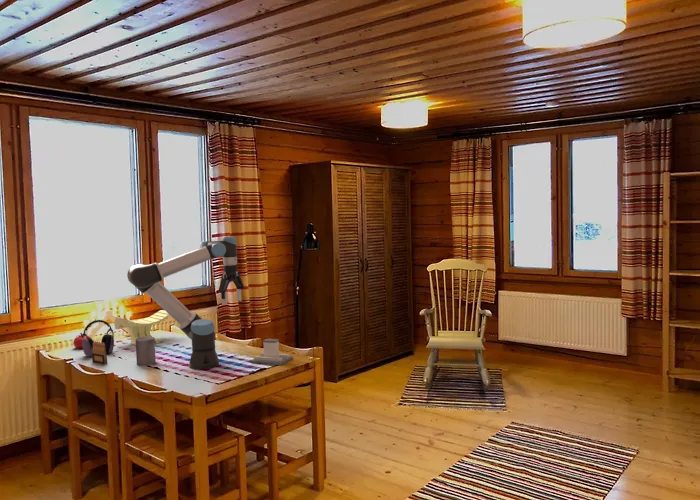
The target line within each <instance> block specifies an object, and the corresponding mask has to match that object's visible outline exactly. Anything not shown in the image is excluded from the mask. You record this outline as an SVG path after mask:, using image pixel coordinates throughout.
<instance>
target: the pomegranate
mask: <svg viewBox="0 0 700 500" xmlns="http://www.w3.org/2000/svg"><path fill="white" fill-rule="evenodd" d="M79 334H80V335H76V336H75V338H74V340H73V342H72V343H73V346H74V348H75V349H78V350H83V347H82V340H83V339H85V338H86V339H87V337H86V336H85V335H84V336H83V339H82V334H83V332H80V333H79ZM87 336H88V338H91V336H89V335H87ZM91 339H92V338H91Z"/></svg>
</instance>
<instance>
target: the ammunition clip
mask: <svg viewBox="0 0 700 500" xmlns="http://www.w3.org/2000/svg"><path fill="white" fill-rule="evenodd" d="M107 354H108V353H107V352H106V349H105V344H104V342H103V343H102V342H101V341H100V340H99V341H98V340H93V353H92V356H91V357H92V363H95V364H98V365H99V364H100V365H108V355H107Z"/></svg>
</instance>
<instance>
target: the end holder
mask: <svg viewBox="0 0 700 500" xmlns="http://www.w3.org/2000/svg"><path fill="white" fill-rule="evenodd" d="M293 358H294V357H293V356H292V355H290V354H289V353H287V354H286V353H279V358H275V357H264V352H261V353H260V355H258V356H257V355H256V356H254V357H253V359H251V360H250V364H258V363H261V365H271V364H272V365H274V366H282V365H284V364H285V363H287V362H289V361H291V360H292V359H293Z"/></svg>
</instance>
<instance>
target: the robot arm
mask: <svg viewBox="0 0 700 500" xmlns="http://www.w3.org/2000/svg"><path fill="white" fill-rule="evenodd" d="M237 244H238V243H237V237H235V236H223V237H222V240H210V241H209V240H208V241H201V242H200V245H199V248H197V249H195V250H190V251H189V252H185V253H183V254H181V255H178V256H175V257H172V258H170V259H168V260H165V261H162V262H159V263H157V262H153V263H151V264H146V263H141V262H140V263H139V262H138V263H135V264H133V265H131V266H130V268H128V270H127V280H128V282H129V283H130V284H132V285H133V286H134V287H135V289H137V290H138V291H139V292H141V294H147V295H148V296H149V297H150V298H151V299H152V300H154V301H153V302H156V304H157V305H158V306H159V307H161V308H162V310H165V311H166V312H167V313H168V314H169V315H170V316H171V318H172V319H174V321H176V323H177V324H179V329H180V330H181V331H182V332H183V333H184V334H185V335H186V337H188V339H190V341H191V356H190V359H189V362H188V363H189V364H188V365H189V368H190V369H193V370H208V369H213V368H216V367H218V366H220V359H219V357H218V354H217V353H218V352H216V336H215V328H216V327H215V323H214V322H213V321H212V320H211V319H205V318H202V317H201V316H200V315H199V314H197V312H191V311H190V310H189V309H188V308H187V307H186V306H185V305H184V304H183V303H182V302H181V301H180V299H179V300H178V298H177V297H176V296H175V295H174V294H173V293H172V292H171V291H170V290H169V289H168V288H166V287H165V286H164V285H163V284H162V283H161V282H162V281H163V280H164V278H167V277H169V276H172V275H174V274H177V273H179V272H183V271H184V270H187V269H189V268H193V267H195V266H198V265H200V264H202V263H205V262H208V261H210V260H213V259H215V258H221V257H222V261H223V262H222V263H223V272H224V274H221V276H220V277H221V278H220V282H219V287H218V293H220V295H221V305H222V306H223V305H224V306H226V305H227V306H228V299H227V298H228V296H227V290H228V287H229V285H230V283H231V282H233V284H234V285H235V287H236V292H235V293H236V302H242V290H244V288H245V287H244V283H243V280H242V277H241V273H240V271H238V265H237V264H238V254H237V253H238V250H237V249H238V246H237Z"/></svg>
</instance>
